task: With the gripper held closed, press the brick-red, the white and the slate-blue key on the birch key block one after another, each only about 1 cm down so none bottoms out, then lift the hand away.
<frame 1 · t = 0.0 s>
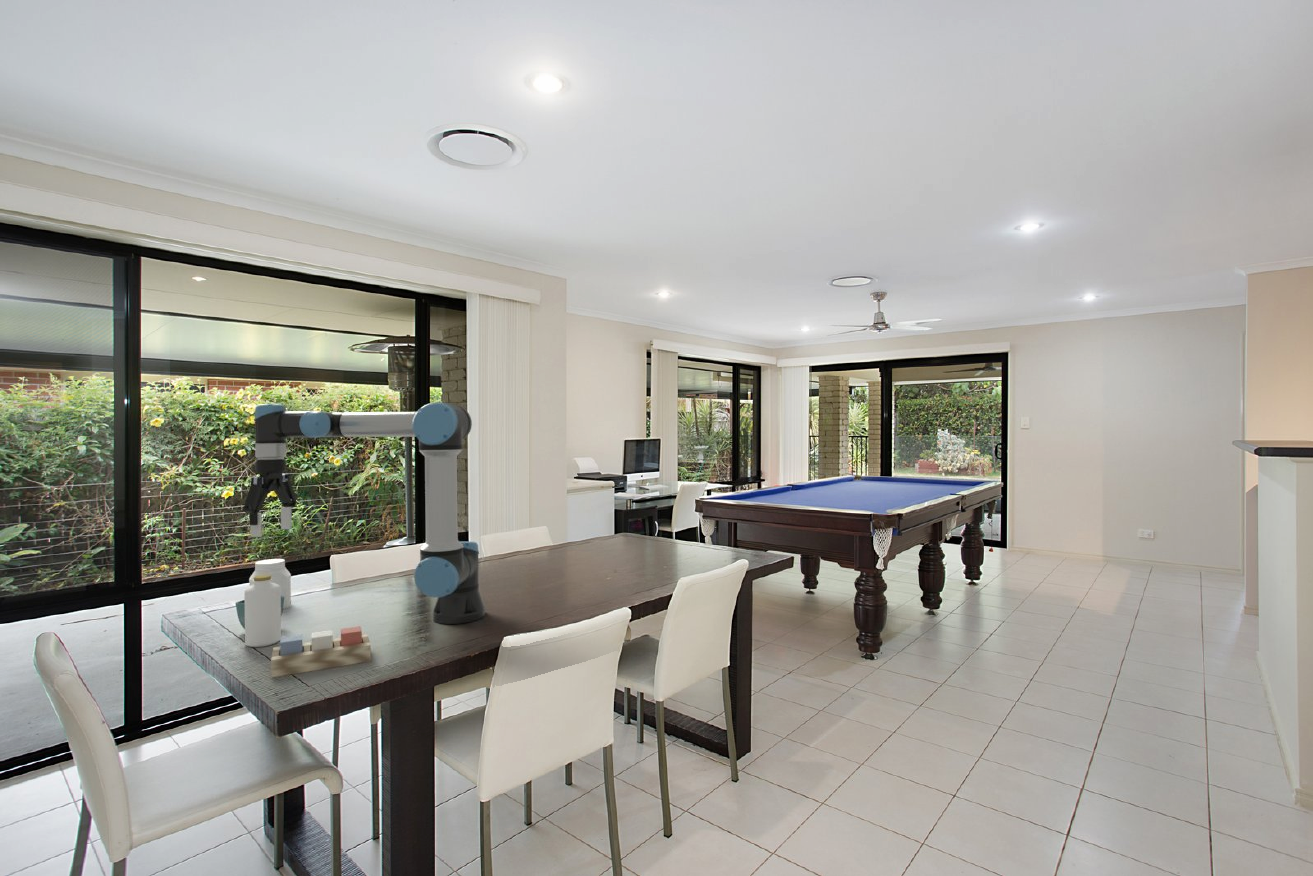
hand: (271, 532, 181), 28 cm above the table, fingers open, 13 cm apart
blue key: (291, 648, 152), point 4 cm above the table, slide at 0.0 cm
flower pot: (260, 631, 181), on the table
potion bottle: (263, 643, 170), on the table
key block: (322, 662, 156), on the table
jar: (270, 608, 205), on the table
white key: (322, 644, 156), point 4 cm above the table, slide at 0.0 cm
red key: (351, 639, 159), point 4 cm above the table, slide at 0.0 cm
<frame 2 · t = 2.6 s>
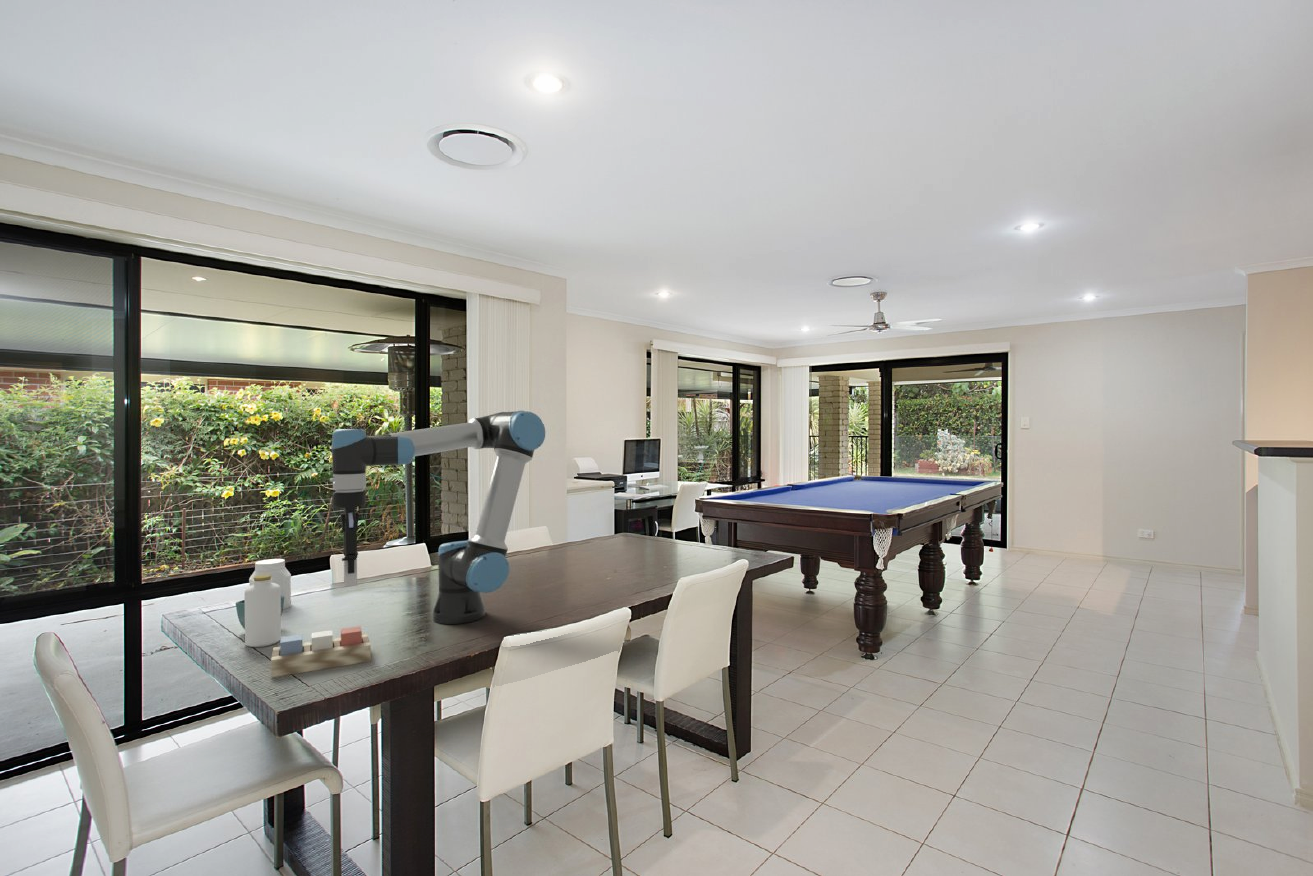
hand: (350, 583, 158), 19 cm above the table, fingers open, 4 cm apart
nothing on the table moved.
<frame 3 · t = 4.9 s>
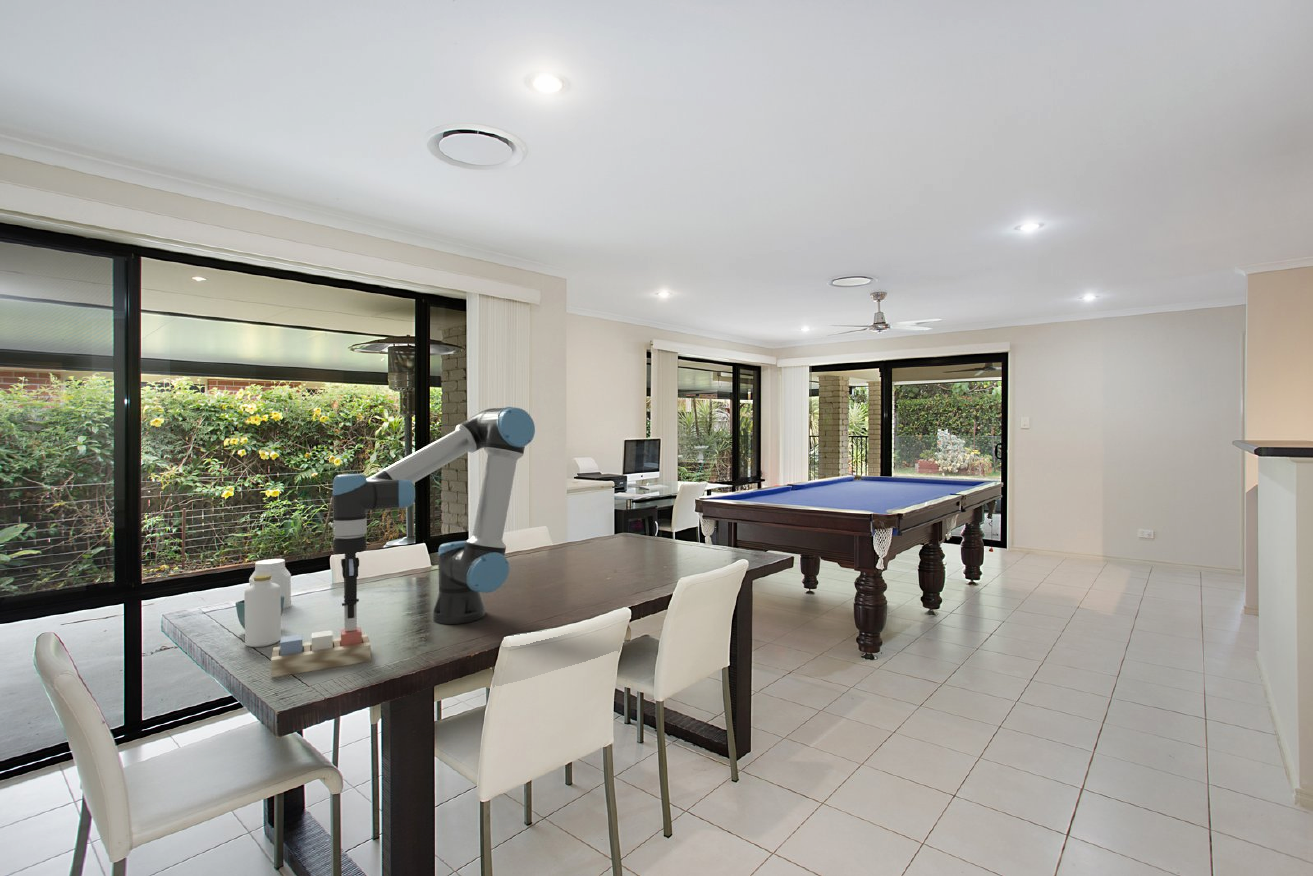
hand: (350, 629, 158), 7 cm above the table, fingers closed
red key: (351, 640, 159), point 4 cm above the table, slide at 0.2 cm, touching gripper
everything else where it was.
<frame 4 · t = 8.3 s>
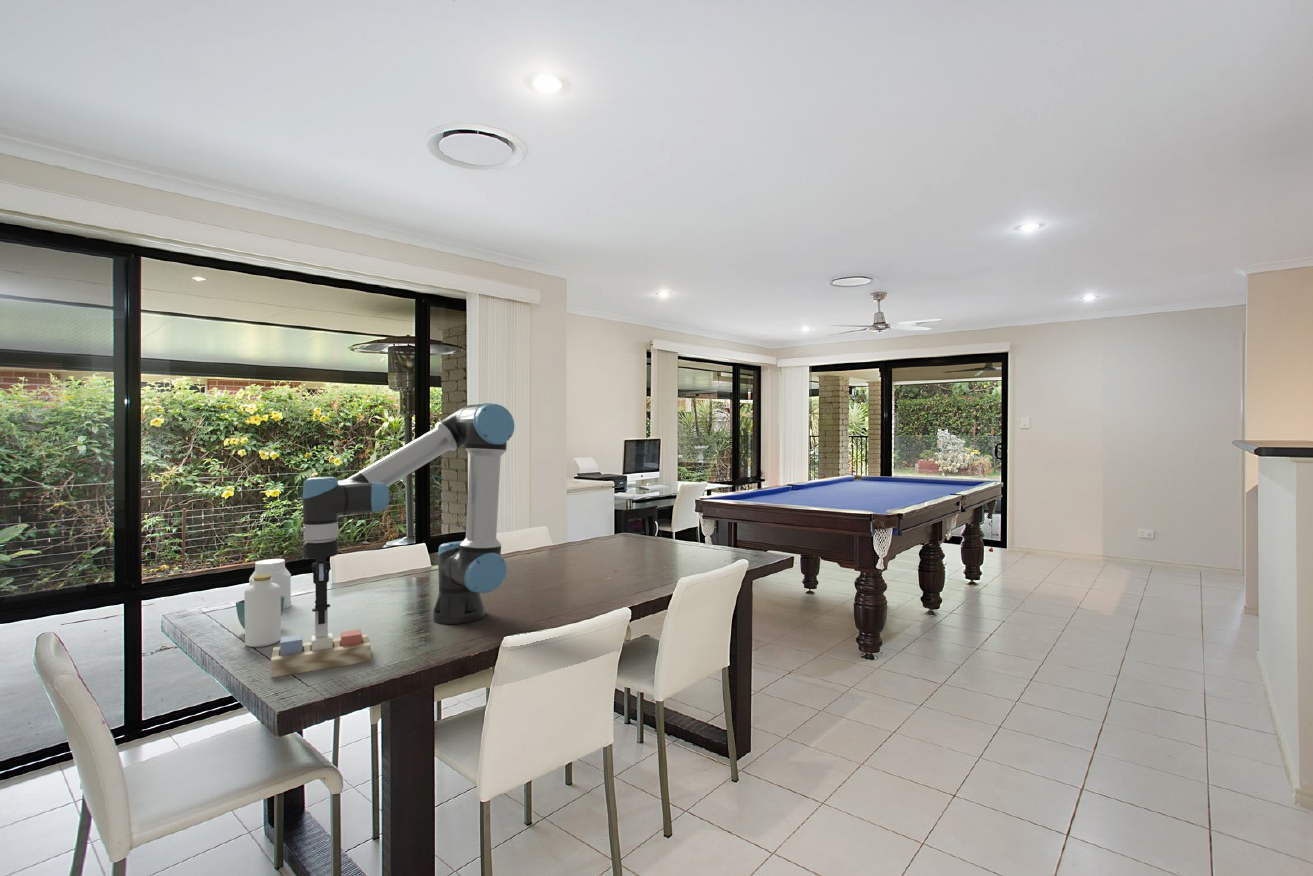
hand: (321, 635, 155), 7 cm above the table, fingers closed
white key: (322, 647, 156), point 4 cm above the table, slide at 0.7 cm, touching gripper
red key: (351, 643, 159), point 4 cm above the table, slide at 0.8 cm
everything else where it was.
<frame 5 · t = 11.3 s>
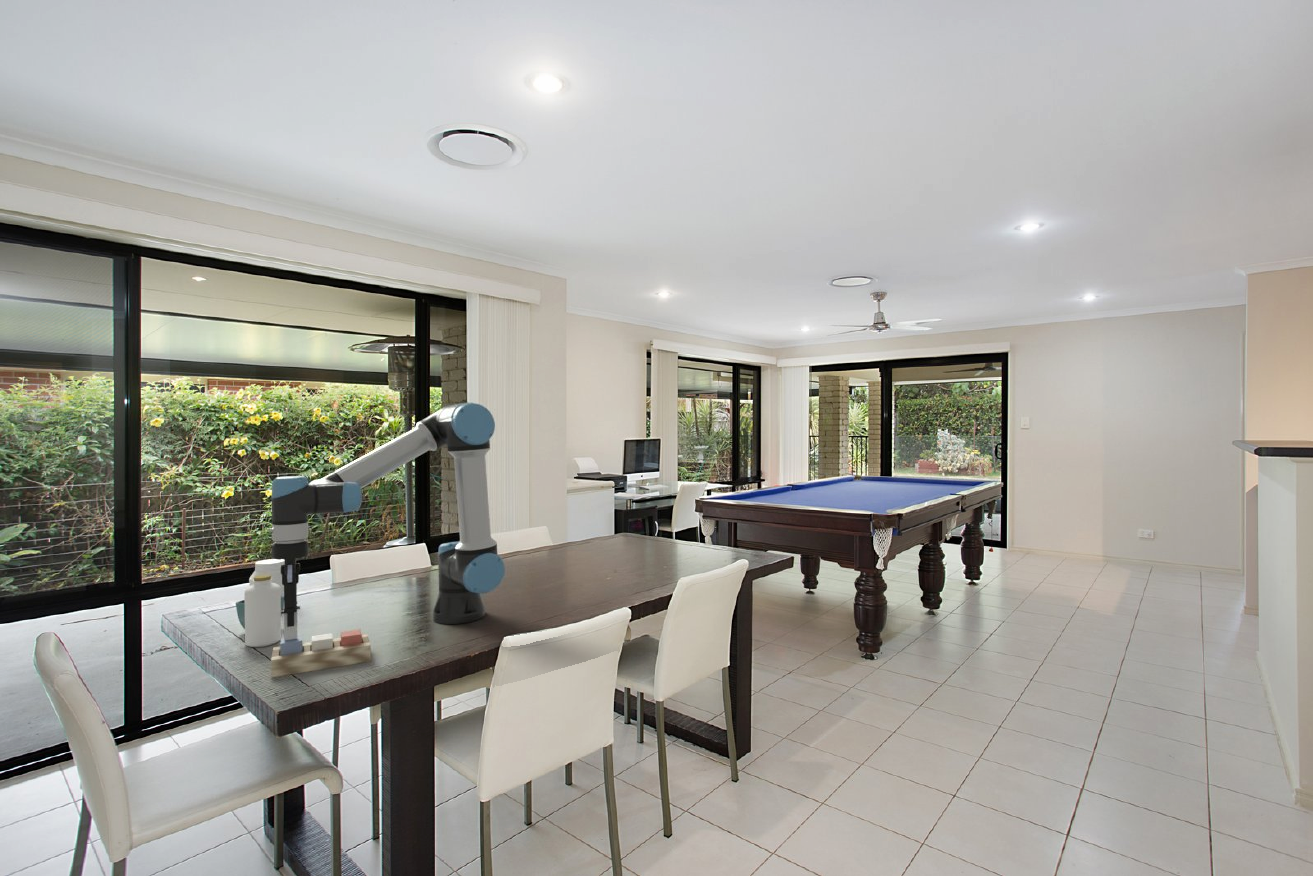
hand: (290, 638, 152), 7 cm above the table, fingers closed
blue key: (291, 649, 152), point 4 cm above the table, slide at 0.3 cm, touching gripper
white key: (322, 647, 156), point 4 cm above the table, slide at 0.8 cm
everything else where it was.
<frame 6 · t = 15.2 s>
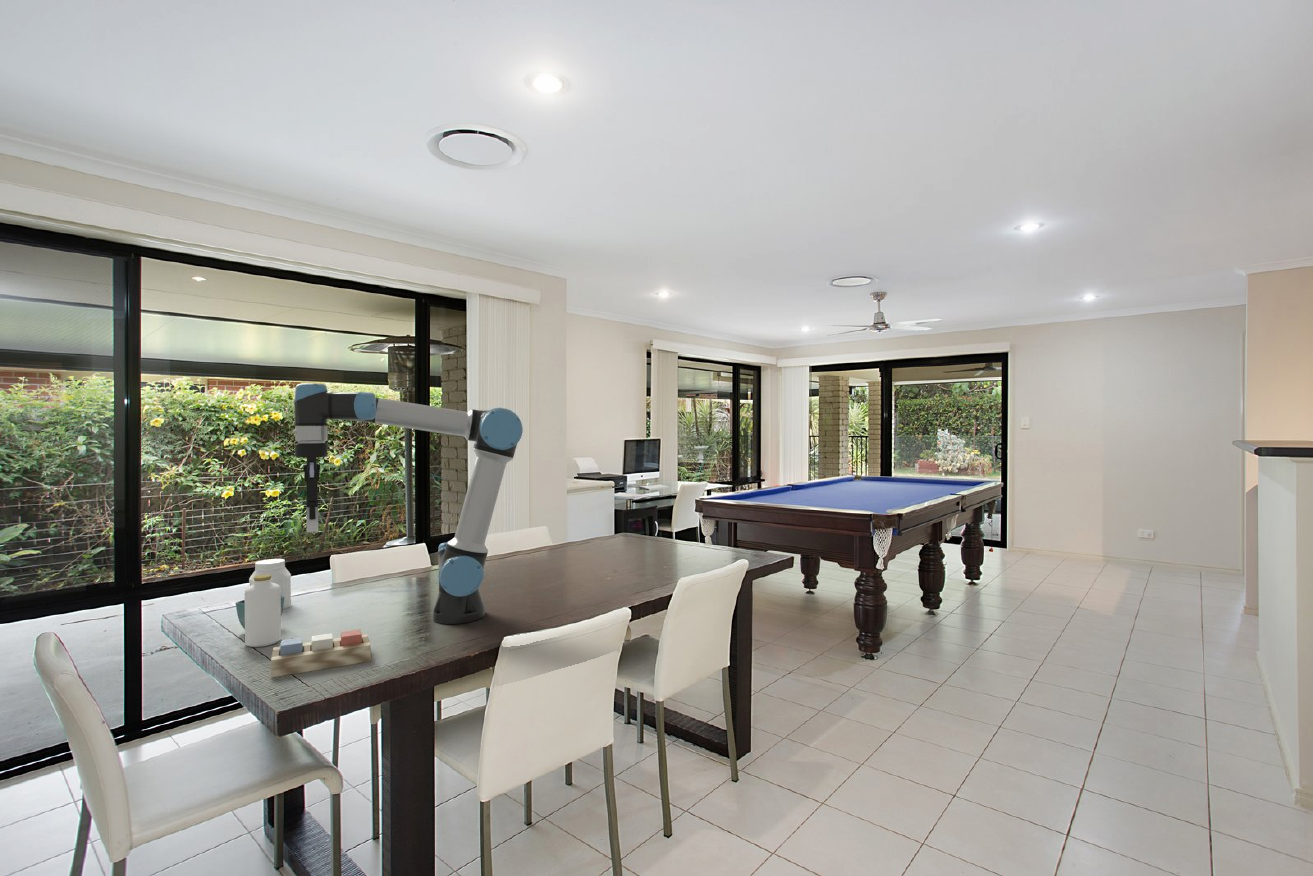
hand: (312, 531, 167), 30 cm above the table, fingers closed
blue key: (291, 652, 152), point 4 cm above the table, slide at 0.8 cm
everything else where it was.
at the end: red key slide at 0.8 cm; white key slide at 0.8 cm; blue key slide at 0.8 cm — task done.
